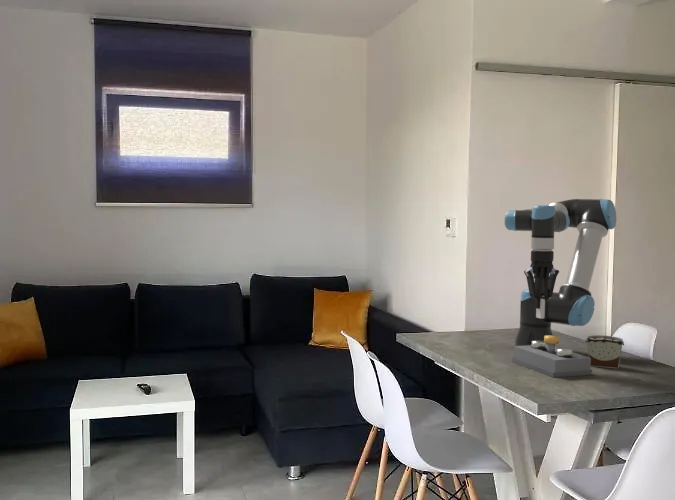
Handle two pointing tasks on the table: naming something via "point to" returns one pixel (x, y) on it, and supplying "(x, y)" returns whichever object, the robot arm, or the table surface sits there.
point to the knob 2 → (564, 352)
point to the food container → (604, 350)
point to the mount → (551, 362)
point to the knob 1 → (538, 344)
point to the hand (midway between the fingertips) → (540, 317)
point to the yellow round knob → (551, 343)
